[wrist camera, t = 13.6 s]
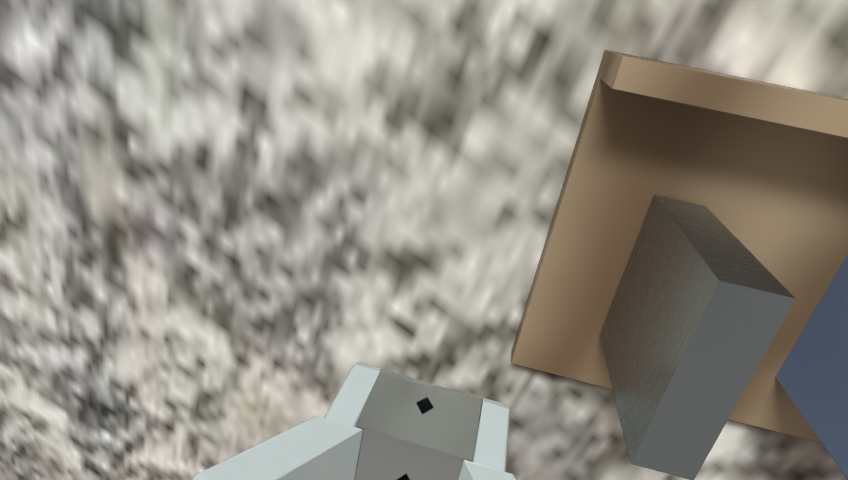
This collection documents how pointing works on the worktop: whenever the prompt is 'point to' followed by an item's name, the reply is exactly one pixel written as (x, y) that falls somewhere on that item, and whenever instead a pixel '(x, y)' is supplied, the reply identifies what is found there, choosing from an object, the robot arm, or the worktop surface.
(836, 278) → the blue block
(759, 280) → the bookend
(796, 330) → the rack
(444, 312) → the worktop surface
